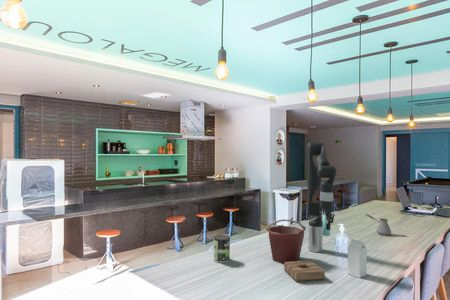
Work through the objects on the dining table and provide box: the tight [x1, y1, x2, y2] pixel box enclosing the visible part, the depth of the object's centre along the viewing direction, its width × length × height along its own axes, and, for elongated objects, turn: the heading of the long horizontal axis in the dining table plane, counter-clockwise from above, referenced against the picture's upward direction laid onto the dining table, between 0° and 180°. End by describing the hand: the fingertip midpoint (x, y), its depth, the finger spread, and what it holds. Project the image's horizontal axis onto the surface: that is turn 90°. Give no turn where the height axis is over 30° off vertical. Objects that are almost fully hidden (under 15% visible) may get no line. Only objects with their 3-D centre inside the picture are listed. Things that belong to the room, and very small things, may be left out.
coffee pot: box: [365, 213, 392, 237], centre depth 263 cm, size 21×12×15 cm, turn 42°
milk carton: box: [347, 238, 368, 279], centre depth 171 cm, size 7×7×19 cm
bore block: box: [283, 260, 326, 283], centre depth 169 cm, size 16×16×5 cm
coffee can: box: [213, 234, 231, 264], centre depth 193 cm, size 10×10×14 cm
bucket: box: [265, 218, 307, 265], centre depth 195 cm, size 24×22×25 cm
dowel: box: [323, 214, 331, 237], centre depth 181 cm, size 4×4×12 cm
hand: (326, 228), depth 181 cm, fingers closed on dowel, 4 cm apart
